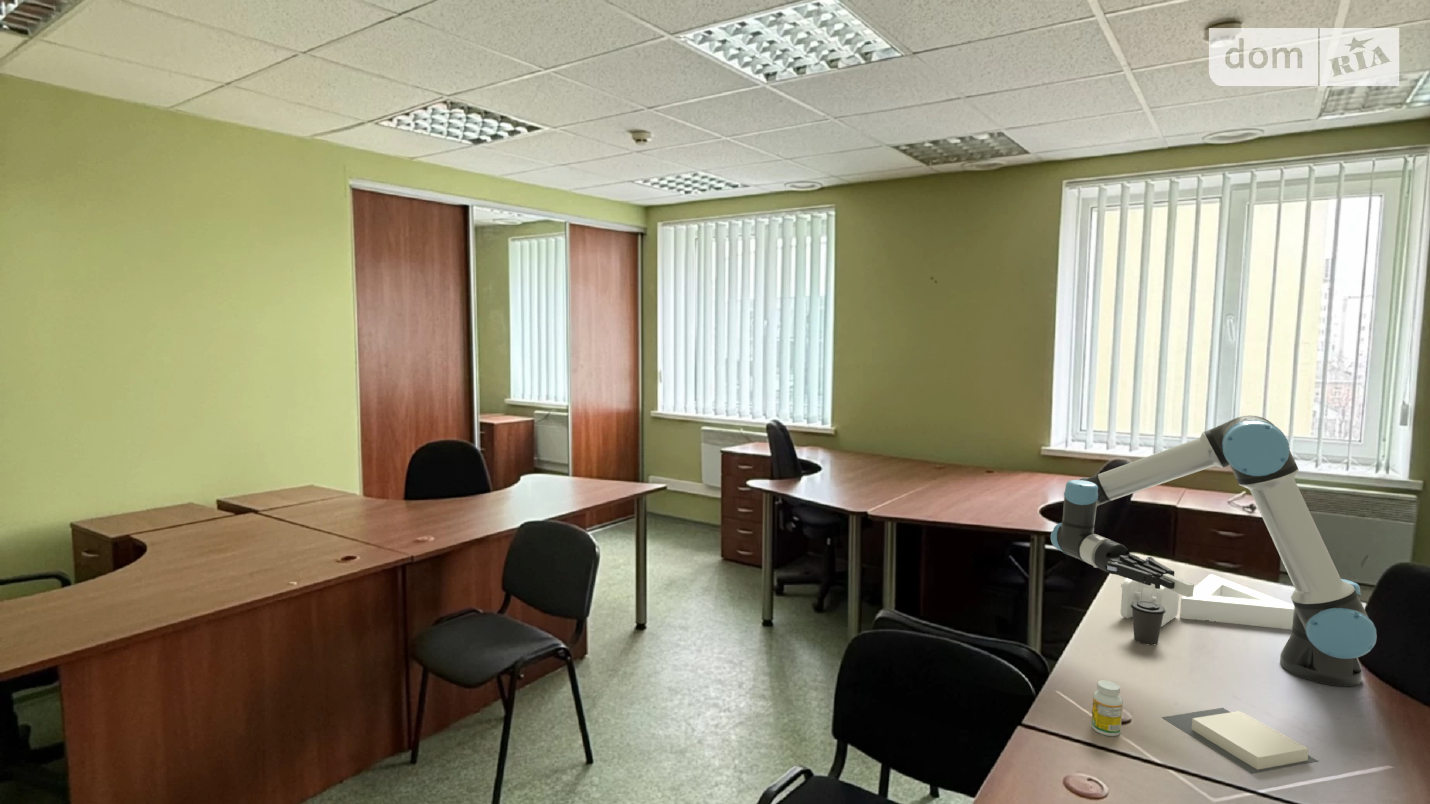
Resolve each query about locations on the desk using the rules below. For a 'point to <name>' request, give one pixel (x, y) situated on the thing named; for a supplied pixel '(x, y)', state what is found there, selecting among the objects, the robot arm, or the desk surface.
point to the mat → (1186, 725)
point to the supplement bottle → (1107, 709)
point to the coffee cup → (1147, 621)
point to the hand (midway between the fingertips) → (1190, 590)
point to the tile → (1250, 740)
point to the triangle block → (1235, 605)
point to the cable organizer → (1148, 598)
